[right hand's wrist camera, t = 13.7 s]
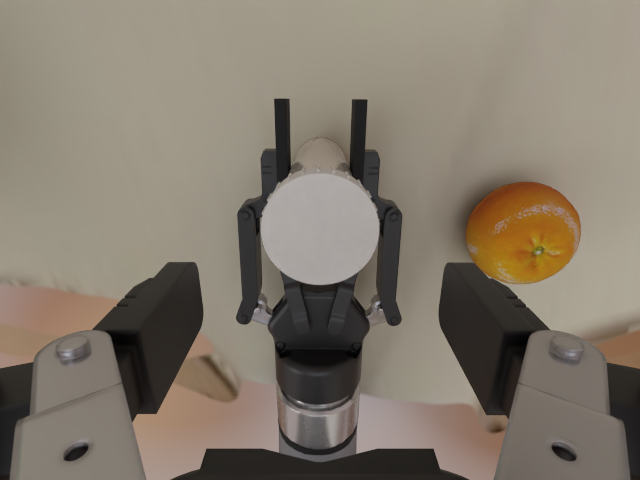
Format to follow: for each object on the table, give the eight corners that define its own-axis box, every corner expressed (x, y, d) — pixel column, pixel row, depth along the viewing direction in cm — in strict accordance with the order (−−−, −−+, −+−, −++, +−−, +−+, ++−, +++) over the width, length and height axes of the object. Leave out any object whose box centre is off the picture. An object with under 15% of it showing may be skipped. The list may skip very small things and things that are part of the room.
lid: (293, 143, 16) (291, 148, 15) (397, 197, 17) (404, 206, 16) (246, 243, 18) (240, 256, 17) (343, 288, 19) (345, 304, 17)
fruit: (451, 287, 33) (539, 295, 26) (442, 192, 33) (527, 174, 26) (513, 275, 37) (605, 279, 30) (505, 190, 37) (594, 173, 30)
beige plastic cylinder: (308, 128, 32) (296, 161, 15) (354, 152, 32) (388, 208, 16) (286, 174, 33) (254, 249, 17) (330, 196, 34) (340, 288, 18)
